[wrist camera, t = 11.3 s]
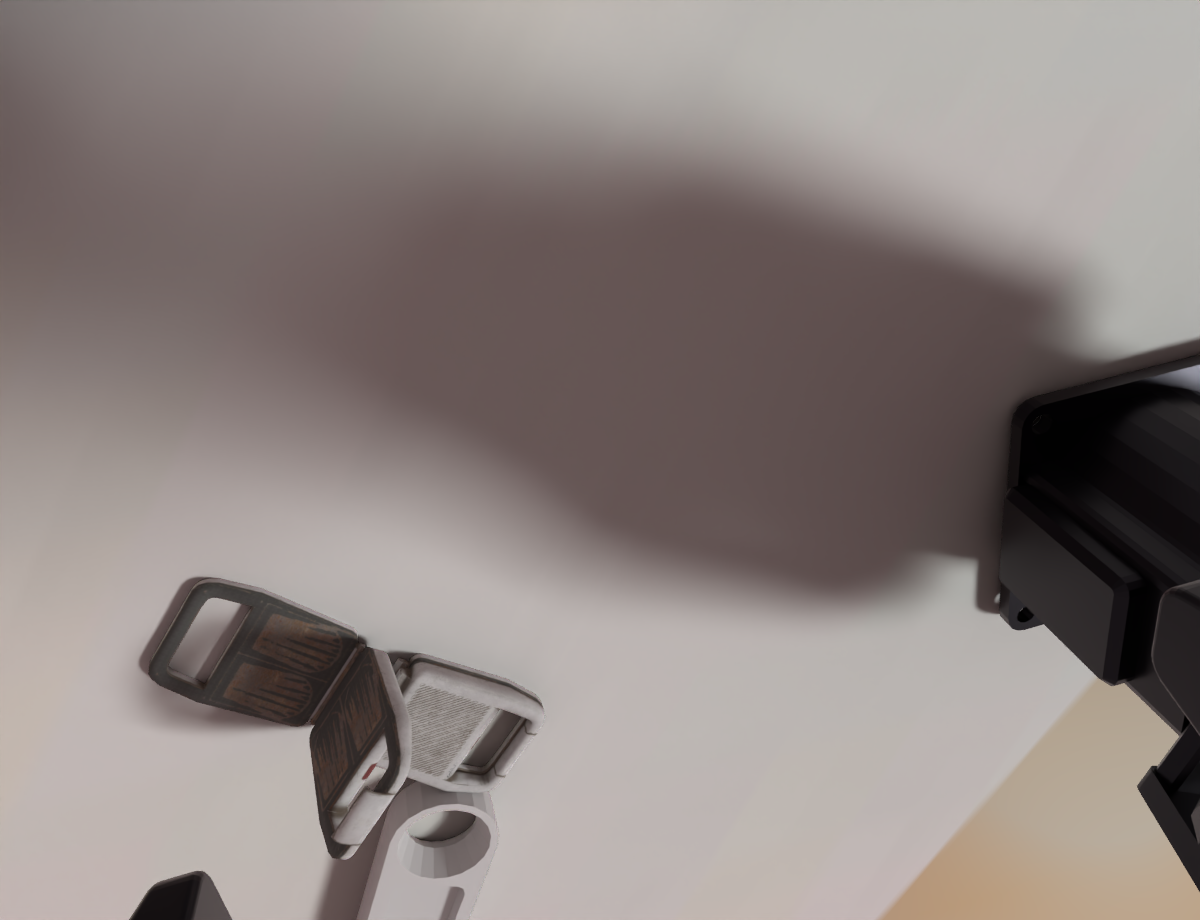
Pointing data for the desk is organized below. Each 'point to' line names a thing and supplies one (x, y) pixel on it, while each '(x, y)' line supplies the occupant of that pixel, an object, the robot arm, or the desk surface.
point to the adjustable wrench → (430, 859)
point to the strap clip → (352, 705)
